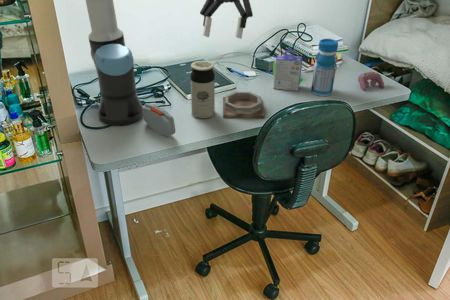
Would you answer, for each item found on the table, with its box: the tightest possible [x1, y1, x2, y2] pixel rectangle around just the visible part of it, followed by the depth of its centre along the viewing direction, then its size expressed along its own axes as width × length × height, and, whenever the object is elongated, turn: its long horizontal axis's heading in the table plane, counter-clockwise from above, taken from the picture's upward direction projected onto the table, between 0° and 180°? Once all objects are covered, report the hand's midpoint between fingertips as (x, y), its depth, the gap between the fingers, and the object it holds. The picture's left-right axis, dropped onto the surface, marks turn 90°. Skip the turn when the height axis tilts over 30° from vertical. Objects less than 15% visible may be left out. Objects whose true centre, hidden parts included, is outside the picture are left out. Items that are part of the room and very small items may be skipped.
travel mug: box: [189, 60, 216, 119], centre depth 150 cm, size 8×8×18 cm
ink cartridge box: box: [273, 49, 303, 92], centre depth 170 cm, size 10×6×14 cm, turn 78°
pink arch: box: [357, 71, 385, 92], centre depth 174 cm, size 10×5×7 cm, turn 108°
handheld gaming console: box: [142, 103, 176, 137], centre depth 142 cm, size 14×3×8 cm, turn 45°
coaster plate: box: [222, 91, 265, 119], centre depth 158 cm, size 14×14×4 cm
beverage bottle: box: [310, 38, 339, 97], centre depth 165 cm, size 8×8×20 cm
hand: (221, 37), depth 152 cm, fingers open, 13 cm apart
